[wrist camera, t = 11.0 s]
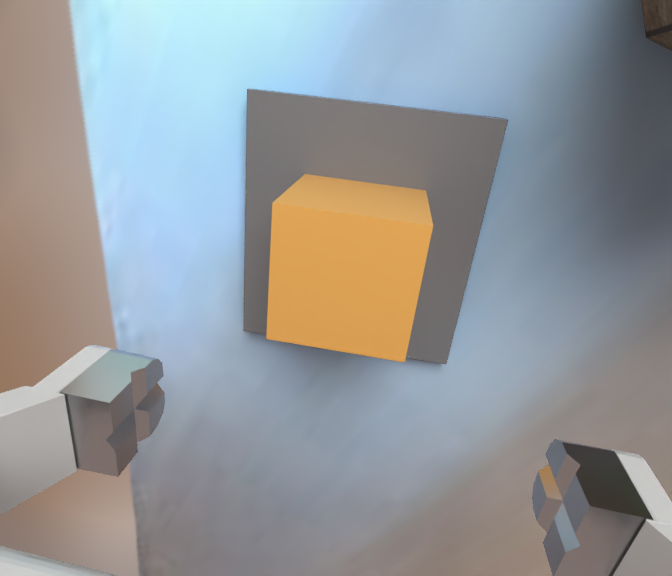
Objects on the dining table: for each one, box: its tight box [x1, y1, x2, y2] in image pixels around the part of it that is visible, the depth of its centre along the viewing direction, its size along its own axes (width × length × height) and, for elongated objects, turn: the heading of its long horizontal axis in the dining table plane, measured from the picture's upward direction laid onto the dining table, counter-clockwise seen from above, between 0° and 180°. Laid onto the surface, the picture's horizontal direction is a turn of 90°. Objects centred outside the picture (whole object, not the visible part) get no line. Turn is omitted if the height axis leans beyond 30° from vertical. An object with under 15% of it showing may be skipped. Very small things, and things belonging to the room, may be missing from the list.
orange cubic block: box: [266, 174, 433, 362], centre depth 17 cm, size 5×5×5 cm
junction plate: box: [244, 89, 508, 364], centre depth 18 cm, size 11×10×4 cm
